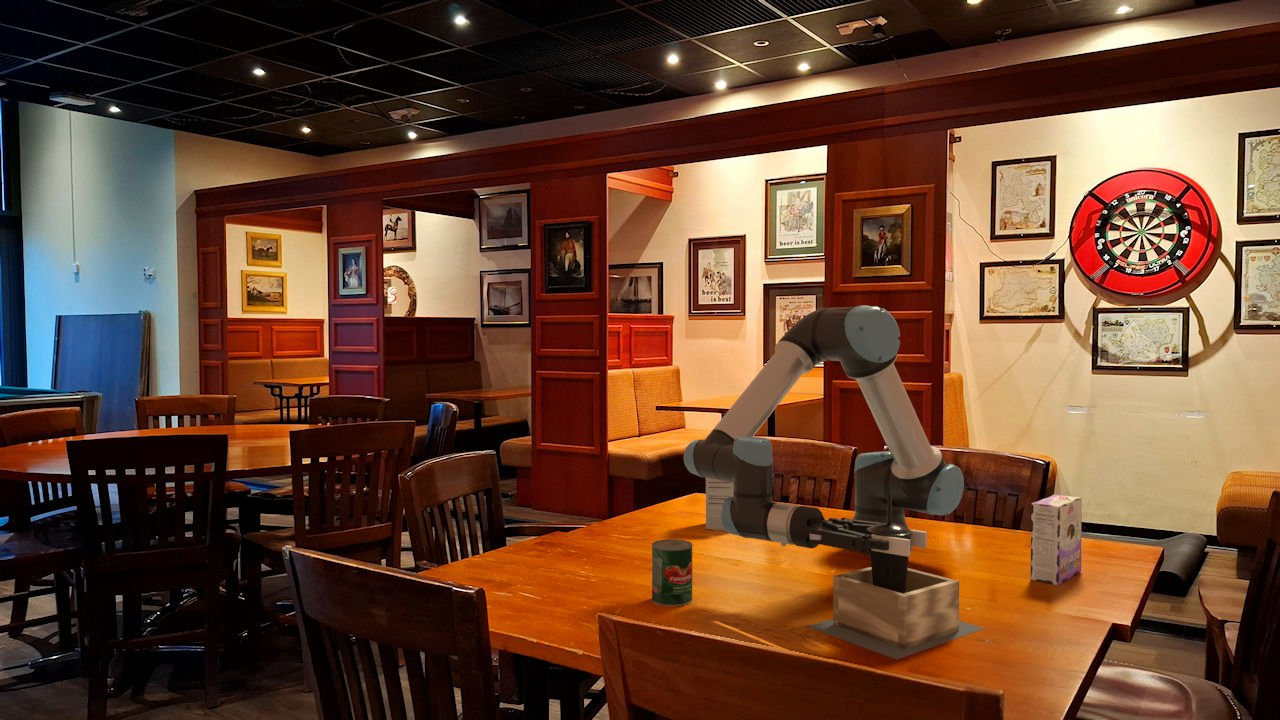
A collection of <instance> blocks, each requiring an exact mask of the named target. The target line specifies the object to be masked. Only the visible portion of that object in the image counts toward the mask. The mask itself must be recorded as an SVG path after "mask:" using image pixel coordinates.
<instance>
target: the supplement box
mask: <svg viewBox="0 0 1280 720" xmlns="http://www.w3.org/2000/svg"><path fill="white" fill-rule="evenodd" d="M732 496H733V483H730V482H725V481H721V480H716V479H711V478H705V530H706V529H712V530H711V531H725V530H724V528H723V527H722V524H721V520H720V512H721V511H722V505H723V503H724V501H725V500H726V499H727V498H729V497H732Z"/></svg>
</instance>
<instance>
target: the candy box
mask: <svg viewBox="0 0 1280 720" xmlns="http://www.w3.org/2000/svg"><path fill="white" fill-rule="evenodd" d="M1030 504H1031V507H1030V509H1031V511H1030V517H1031V520H1030V525H1031V526H1030V580H1031V581H1035V582H1040V583H1045V584H1050V585H1054V586H1059V585H1061V584H1063V583H1064V582H1066V581H1068V580H1069V579H1071V578H1073V577H1075V576H1076V575H1077V574H1080V573H1082V497H1081V496H1080V497H1079V496H1072V495H1063V494H1052V495H1051V496H1048V497H1045V498H1042V499H1040V500H1037V501H1034V502H1032V503H1030Z"/></svg>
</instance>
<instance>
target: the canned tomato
mask: <svg viewBox="0 0 1280 720" xmlns="http://www.w3.org/2000/svg"><path fill="white" fill-rule="evenodd" d="M651 567H652V569H651V596H652V597H651V602H652V601H653V602H654V604H655V603H656V604H655V605H657V604H659V605H658V606H660V605H664V606H663V607H666V606H679V607H681V606H680V605H685V604H688V603H690V602H691V603H692V602H693V601H692V600H693V543H692V542H691V541H689V540H684V539H676V538H675V539H674V538H672V539H667V538H666V539H659V540H656V541H654V542H652V544H651ZM653 602H652V603H653ZM691 603H690V604H691ZM688 605H689V604H688ZM685 606H686V605H685Z"/></svg>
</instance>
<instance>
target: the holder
mask: <svg viewBox="0 0 1280 720" xmlns="http://www.w3.org/2000/svg"><path fill="white" fill-rule="evenodd" d="M832 578H833V582H832V583H833V584H832V590H833V591H832V592H833V593H832V597H833V601H832V603H833V604H832V605H833V607H832V610H833V611H832V613H833V615H832V619H833V624H834V625H837V626H840V627H843V628H845V629H848V630H851V631H854V632H857V633H860V634H862V635H865V636H868V637H871V638H874V639H877V640H880V641H882V642H885V643H888V644H891V645H894V646H897V647H900V648H902V649H906V648H909V647H912V646H915V645H918V644H921V643H924V642H927V641H930V640H933V639H936V638H939V637H941V636H944V635H947V634H950V633H953V632H956V631H959V621H960V580H957V579H952V578H948V577H945V576H940V575H937V574H933V573H928V572H925V571H921V570H917V569H913V568H909V567H908V570H907V580H906V590H905V593H904V594H902V593H899V592H895V591H892V590H888V589H885V588H882V587H878V586H875V585H873V580H872V569H871V566H869V567H865V568H860V569H857V570H854V571H849V572H844V573H840V574H837V575H833V577H832Z"/></svg>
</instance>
